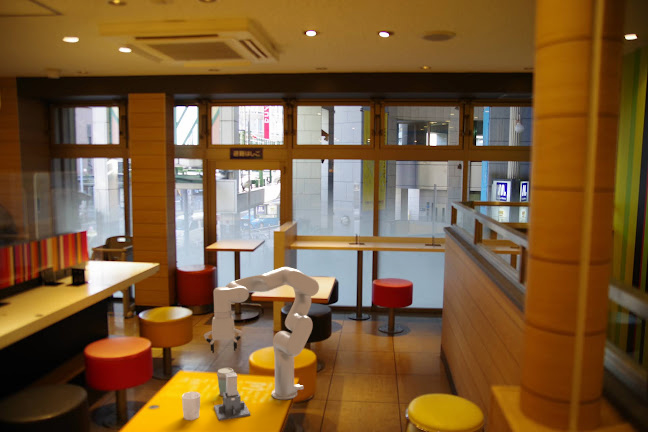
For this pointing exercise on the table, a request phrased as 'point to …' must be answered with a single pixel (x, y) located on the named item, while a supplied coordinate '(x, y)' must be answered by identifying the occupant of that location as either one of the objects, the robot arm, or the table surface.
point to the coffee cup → (223, 379)
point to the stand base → (231, 408)
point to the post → (231, 385)
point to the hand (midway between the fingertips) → (224, 351)
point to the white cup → (191, 405)
